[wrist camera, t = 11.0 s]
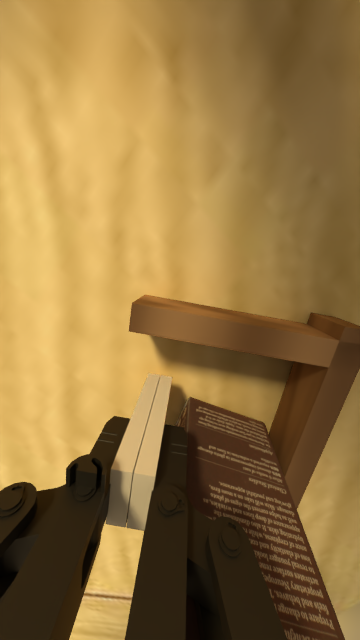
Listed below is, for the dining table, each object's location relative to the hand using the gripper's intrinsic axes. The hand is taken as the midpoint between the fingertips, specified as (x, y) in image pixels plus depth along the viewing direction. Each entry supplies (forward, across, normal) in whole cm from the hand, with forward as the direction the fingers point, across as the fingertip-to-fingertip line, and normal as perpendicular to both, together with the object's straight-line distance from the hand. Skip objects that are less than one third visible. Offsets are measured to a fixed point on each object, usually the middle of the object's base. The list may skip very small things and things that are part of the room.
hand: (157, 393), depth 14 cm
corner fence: (+1, +4, 0) cm, 4 cm away
